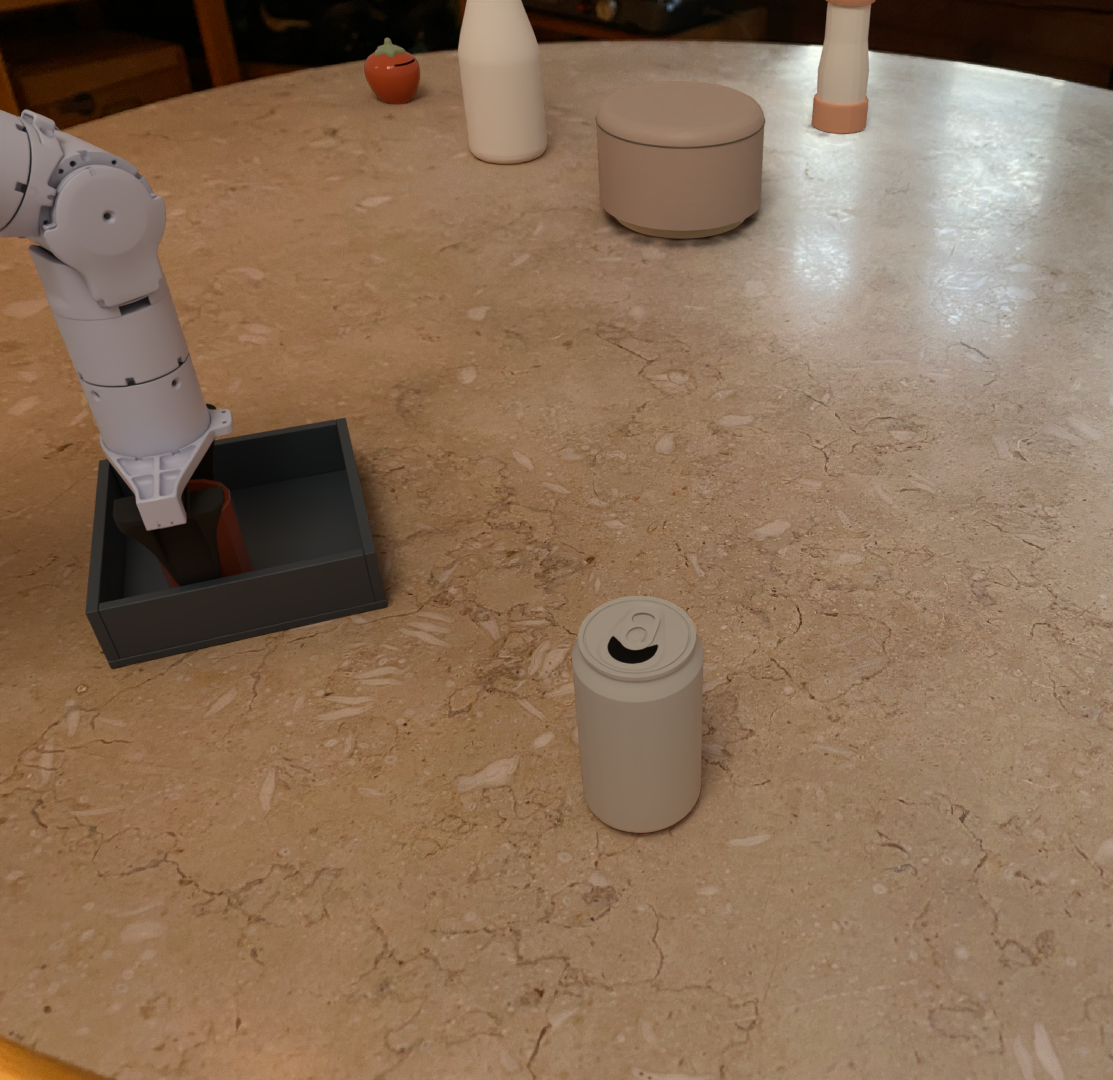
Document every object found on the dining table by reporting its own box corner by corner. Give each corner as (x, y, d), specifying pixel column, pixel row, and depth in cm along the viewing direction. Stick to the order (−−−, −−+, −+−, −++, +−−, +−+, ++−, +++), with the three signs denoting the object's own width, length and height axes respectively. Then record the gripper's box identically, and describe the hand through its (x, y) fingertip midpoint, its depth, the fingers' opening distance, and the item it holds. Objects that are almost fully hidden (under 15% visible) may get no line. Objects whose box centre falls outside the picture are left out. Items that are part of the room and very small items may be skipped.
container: (789, 228, 119) (796, 118, 111) (636, 255, 112) (633, 141, 105) (718, 172, 131) (720, 70, 124) (577, 194, 125) (570, 88, 118)
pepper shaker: (801, 125, 145) (811, -34, 133) (830, 112, 150) (843, -43, 138) (847, 137, 142) (862, -25, 130) (876, 123, 146) (893, -35, 134)
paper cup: (175, 623, 68) (140, 536, 64) (175, 573, 72) (142, 487, 67) (259, 605, 69) (231, 518, 65) (255, 557, 73) (228, 472, 69)
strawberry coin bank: (397, 111, 146) (387, 48, 141) (357, 101, 149) (346, 39, 144) (435, 97, 151) (427, 36, 146) (396, 88, 154) (386, 27, 149)
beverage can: (567, 827, 57) (549, 667, 50) (605, 736, 62) (595, 578, 55) (683, 853, 56) (684, 694, 49) (713, 759, 61) (718, 601, 54)
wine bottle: (527, 170, 130) (501, -120, 112) (456, 160, 133) (418, -126, 114) (560, 145, 138) (540, -132, 119) (492, 135, 140) (462, -138, 121)
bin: (110, 669, 66) (84, 613, 63) (120, 513, 77) (98, 460, 75) (388, 606, 70) (375, 552, 68) (357, 468, 82) (345, 417, 79)
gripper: (214, 415, 56) (276, 610, 64) (207, 293, 66) (261, 475, 75) (62, 440, 54) (147, 638, 62) (79, 311, 64) (150, 495, 73)
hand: (201, 551), depth 68 cm, fingers open, 6 cm apart
